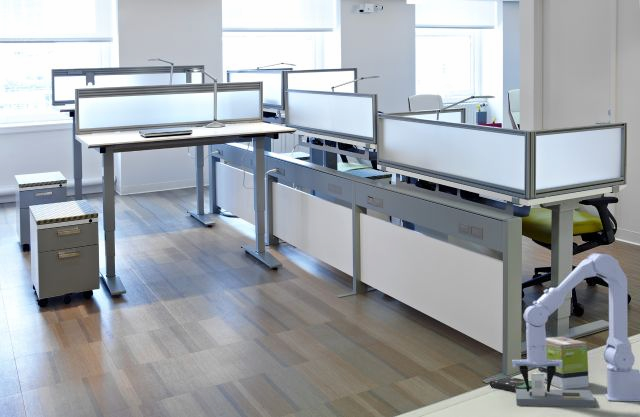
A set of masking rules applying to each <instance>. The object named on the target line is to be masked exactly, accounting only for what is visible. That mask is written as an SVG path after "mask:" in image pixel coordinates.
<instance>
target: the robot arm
mask: <svg viewBox="0 0 640 417" xmlns="http://www.w3.org/2000/svg"><path fill="white" fill-rule="evenodd" d="M596 276H598V277H600V278H601V279H602V280H603V281H604V282H606V283H607V284H608V338H607V340H606V346H605V348H604V349H603V354H602V355H603V359H604V361H605V362H606V388H607V390H606V391H607V393H605V394H604V396H605V397H606V399H607V401H609V402H640V369H635V368H633V366H634V365H635V361H636V360H635V355H634V353H633V350H632V344H631V341H630V340H629V337H628V330H629V329H628V278H627V276H626V274H625V272H624V271H623V268H621V266H620V263H619V260H618V259H616V258H615V257H613V256H612V255H610V254H607V253H603V254H601V253H597V252H593V253H590V254H589V255H588V256H587V257H586V258H584V259H583V260H581V261H580V263H579V264H578V265H577V266H575V268H574V269H573V270H572V271H571V272H570V273H569V274H568V276H566V277H565V279H563V280H562V282H560V284H558V286H557V287H550V288H549V289H547V288H546V289H545V290H543V293H544V294H542V295H541V296H540V297H539V298H538V299H537V300H533V302H532V304H533V305H530V306H528V307H526V309H525V310H524V313H523V315H522V317H523V319H524V321H525V326H526V328H525V329H526V330H525V336H526V337H525V340H526V359H512V361H511V362H512V368H517V367H518V368H519V372H520V374H521V375H522V377H523V380H524V381H525V384H526V388H527V392H529V382H528V381H529V369H528V367H529V368H538V367H547V383H546V389H547V392H550V390H551V386H552V385H551V381H552V378H553V376H554V374H555V371H556V367H559V368H562V360H548V359H547V352H546V338H547V337H546V336H547V334H546V332H547V331H546V323H547V322H548V318H549V316H551V315H552V314H553V313H555V311H556V310H557V309H559V307H561V305H562V304H564V302H565V299H566V298H565V297H566V295H567V294H568V293H570V292H571V290H573V289H574V288H575V287H576V286H577V285H579V284H580V283H581V282H582V281H583V280H584V279H587V278H592V277H596Z"/></svg>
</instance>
